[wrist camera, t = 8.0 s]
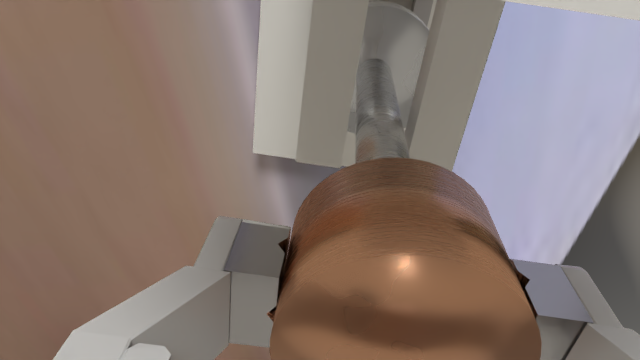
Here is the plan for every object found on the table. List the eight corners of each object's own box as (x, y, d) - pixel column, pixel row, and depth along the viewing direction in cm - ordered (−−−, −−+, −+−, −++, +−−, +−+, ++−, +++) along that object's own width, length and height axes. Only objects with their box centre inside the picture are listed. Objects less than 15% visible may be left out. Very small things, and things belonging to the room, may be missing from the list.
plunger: (419, 131, 23) (518, 478, 9) (304, 114, 23) (220, 435, 9) (451, 10, 20) (674, 244, 6) (319, -9, 20) (225, 178, 6)
